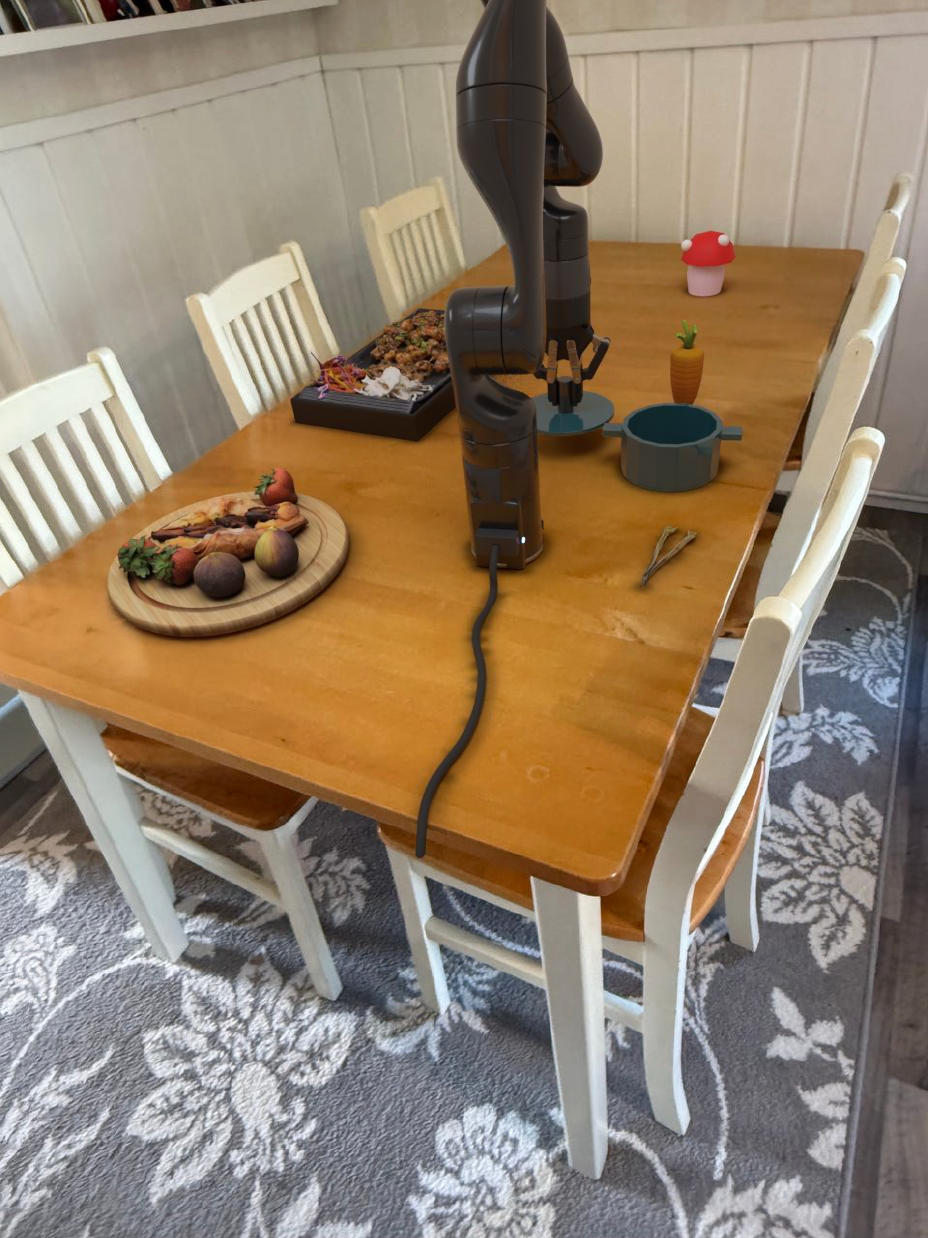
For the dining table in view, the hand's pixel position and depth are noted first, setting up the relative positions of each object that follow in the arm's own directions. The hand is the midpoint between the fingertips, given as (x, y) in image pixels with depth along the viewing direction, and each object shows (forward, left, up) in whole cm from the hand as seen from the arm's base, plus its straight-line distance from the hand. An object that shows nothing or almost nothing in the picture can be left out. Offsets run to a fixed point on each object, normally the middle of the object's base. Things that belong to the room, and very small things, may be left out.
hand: (565, 403), depth 129 cm
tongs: (-30, -17, -7) cm, 36 cm away
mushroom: (+70, -18, -7) cm, 72 cm away
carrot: (+10, -17, -7) cm, 21 cm away
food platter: (+23, +31, -7) cm, 39 cm away
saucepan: (-7, -16, -6) cm, 19 cm away
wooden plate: (-38, +39, -7) cm, 55 cm away
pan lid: (0, 0, -2) cm, 2 cm away
